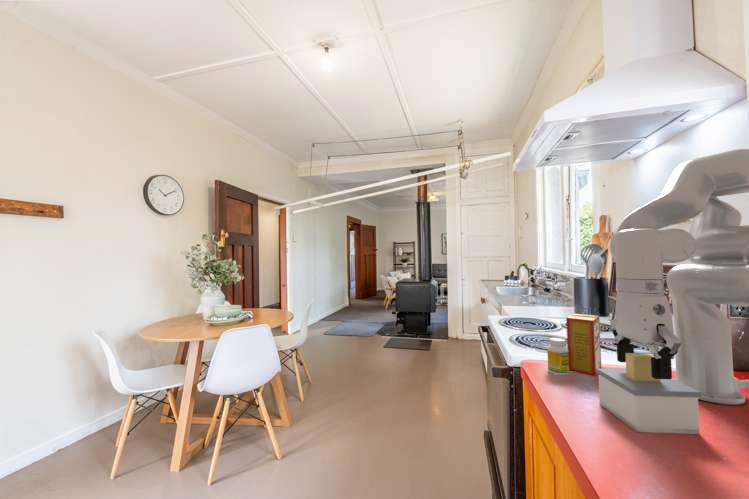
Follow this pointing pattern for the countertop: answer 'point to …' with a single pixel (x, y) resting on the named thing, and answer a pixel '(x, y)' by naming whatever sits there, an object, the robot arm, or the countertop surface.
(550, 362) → the supplement bottle
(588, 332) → the baking soda box
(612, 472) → the countertop surface
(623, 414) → the parts tub
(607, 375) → the lid
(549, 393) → the countertop surface
